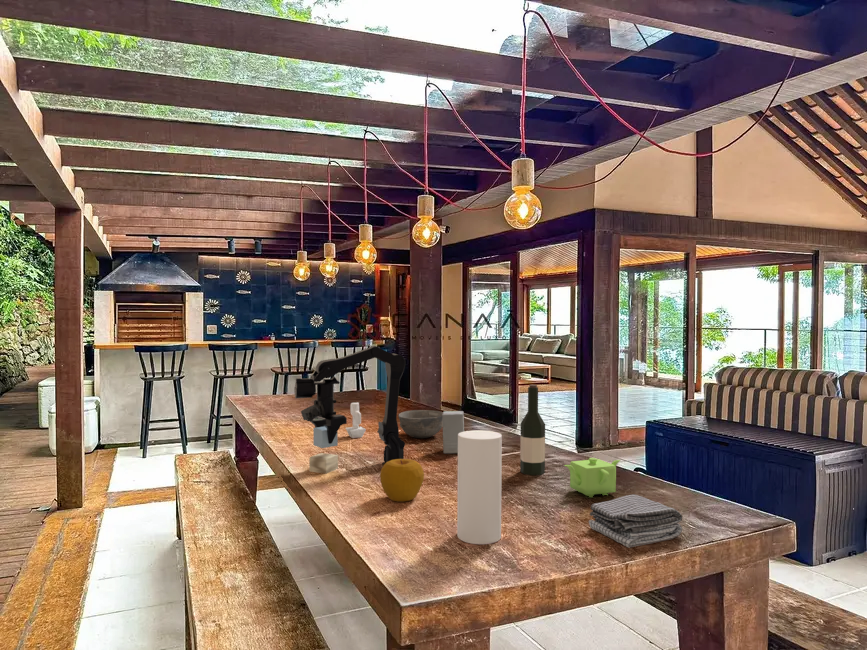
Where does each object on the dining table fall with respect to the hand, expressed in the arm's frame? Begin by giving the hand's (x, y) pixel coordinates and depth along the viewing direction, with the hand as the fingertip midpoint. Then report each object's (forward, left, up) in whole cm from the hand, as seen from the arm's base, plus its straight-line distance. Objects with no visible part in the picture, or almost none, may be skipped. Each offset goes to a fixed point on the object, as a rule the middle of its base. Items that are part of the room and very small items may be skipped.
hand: (325, 441), depth 205 cm
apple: (-40, +13, -10) cm, 43 cm away
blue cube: (0, 0, -1) cm, 1 cm away
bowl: (0, -65, -10) cm, 66 cm away
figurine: (+24, -49, -10) cm, 55 cm away
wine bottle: (-63, -34, -10) cm, 72 cm away
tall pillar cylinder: (-72, +28, -10) cm, 78 cm away
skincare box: (-26, -46, -10) cm, 54 cm away
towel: (-104, +6, -10) cm, 105 cm away
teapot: (-87, -21, -10) cm, 90 cm away
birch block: (0, 0, -10) cm, 10 cm away
